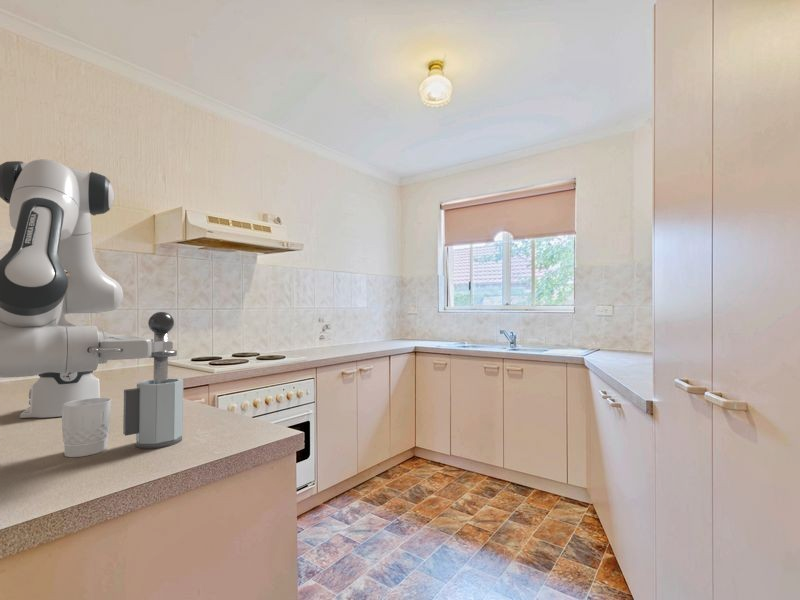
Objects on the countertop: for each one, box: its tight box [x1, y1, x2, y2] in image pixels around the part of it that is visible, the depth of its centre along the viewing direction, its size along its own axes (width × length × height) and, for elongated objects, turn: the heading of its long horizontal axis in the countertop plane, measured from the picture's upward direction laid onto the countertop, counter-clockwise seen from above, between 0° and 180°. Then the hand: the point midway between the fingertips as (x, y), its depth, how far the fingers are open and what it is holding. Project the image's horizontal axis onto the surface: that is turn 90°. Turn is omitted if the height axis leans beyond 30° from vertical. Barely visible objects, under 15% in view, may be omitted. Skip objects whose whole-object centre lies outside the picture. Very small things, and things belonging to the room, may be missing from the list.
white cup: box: [61, 397, 112, 458], centre depth 79 cm, size 8×8×10 cm
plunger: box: [147, 311, 178, 384], centre depth 85 cm, size 6×6×26 cm
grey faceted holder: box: [122, 377, 184, 450], centre depth 84 cm, size 8×11×13 cm
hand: (165, 344), depth 86 cm, fingers open, 8 cm apart
